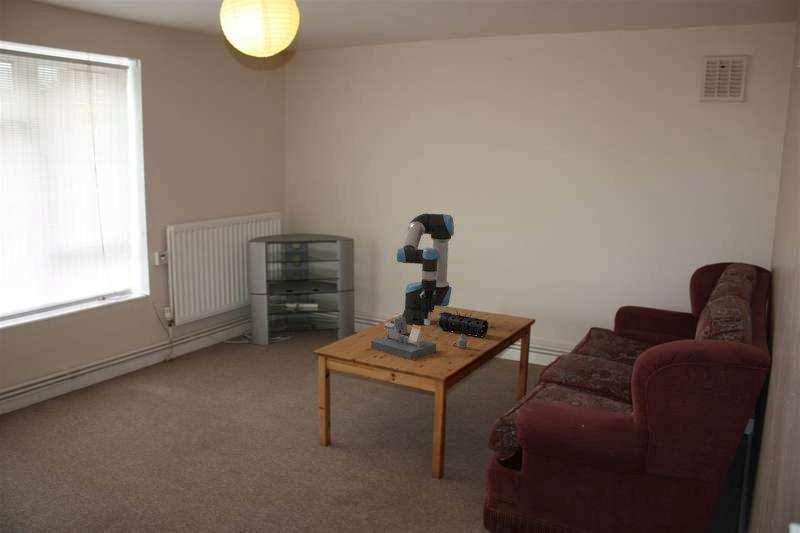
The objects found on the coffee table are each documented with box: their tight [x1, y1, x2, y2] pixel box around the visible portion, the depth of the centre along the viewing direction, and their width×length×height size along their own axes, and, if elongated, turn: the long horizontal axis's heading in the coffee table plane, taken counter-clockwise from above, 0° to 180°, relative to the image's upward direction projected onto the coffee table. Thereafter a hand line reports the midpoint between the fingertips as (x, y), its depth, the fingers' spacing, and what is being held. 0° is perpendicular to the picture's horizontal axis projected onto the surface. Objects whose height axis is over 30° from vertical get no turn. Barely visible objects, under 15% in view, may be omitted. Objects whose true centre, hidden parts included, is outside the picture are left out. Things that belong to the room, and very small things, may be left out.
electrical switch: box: [390, 316, 409, 335], centre depth 365 cm, size 9×5×9 cm, turn 141°
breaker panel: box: [370, 331, 437, 361], centre depth 336 cm, size 20×26×7 cm
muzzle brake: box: [436, 311, 489, 338], centre depth 371 cm, size 10×28×10 cm, turn 58°
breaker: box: [383, 322, 399, 340], centre depth 337 cm, size 2×6×10 cm
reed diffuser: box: [451, 311, 472, 349], centre depth 342 cm, size 10×7×20 cm
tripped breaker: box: [407, 324, 424, 345], centre depth 333 cm, size 2×6×10 cm, turn 51°
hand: (427, 324), depth 339 cm, fingers closed
